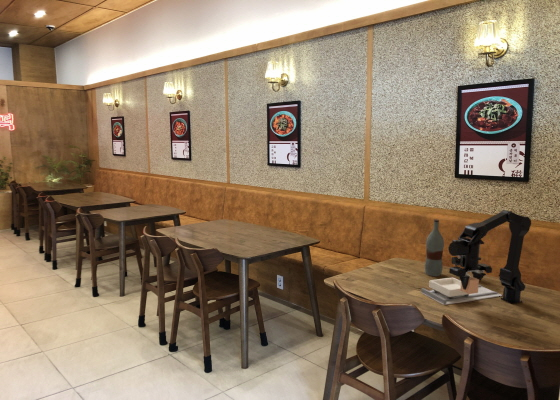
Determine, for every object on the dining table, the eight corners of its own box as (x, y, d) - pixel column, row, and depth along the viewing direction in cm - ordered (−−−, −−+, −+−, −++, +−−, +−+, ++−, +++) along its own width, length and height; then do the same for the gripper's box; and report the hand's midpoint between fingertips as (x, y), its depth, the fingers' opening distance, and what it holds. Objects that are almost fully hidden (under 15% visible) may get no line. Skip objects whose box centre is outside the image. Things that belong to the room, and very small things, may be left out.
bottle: (421, 271, 243) (424, 218, 239) (436, 270, 245) (439, 218, 240) (429, 277, 234) (433, 221, 230) (445, 276, 236) (449, 221, 231)
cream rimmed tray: (473, 297, 202) (474, 286, 202) (449, 300, 198) (449, 290, 197) (452, 287, 215) (452, 277, 215) (428, 290, 211) (429, 280, 210)
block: (477, 292, 191) (478, 279, 191) (468, 294, 190) (469, 280, 189) (469, 289, 196) (470, 276, 195) (460, 290, 194) (461, 277, 193)
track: (502, 296, 207) (502, 291, 207) (443, 304, 196) (444, 300, 195) (476, 285, 222) (477, 280, 222) (420, 292, 210) (421, 288, 210)
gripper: (474, 248, 201) (472, 280, 203) (441, 251, 195) (439, 285, 197) (494, 254, 191) (491, 288, 193) (459, 257, 184) (457, 293, 187)
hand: (469, 288), depth 193 cm, fingers closed on block, 5 cm apart
